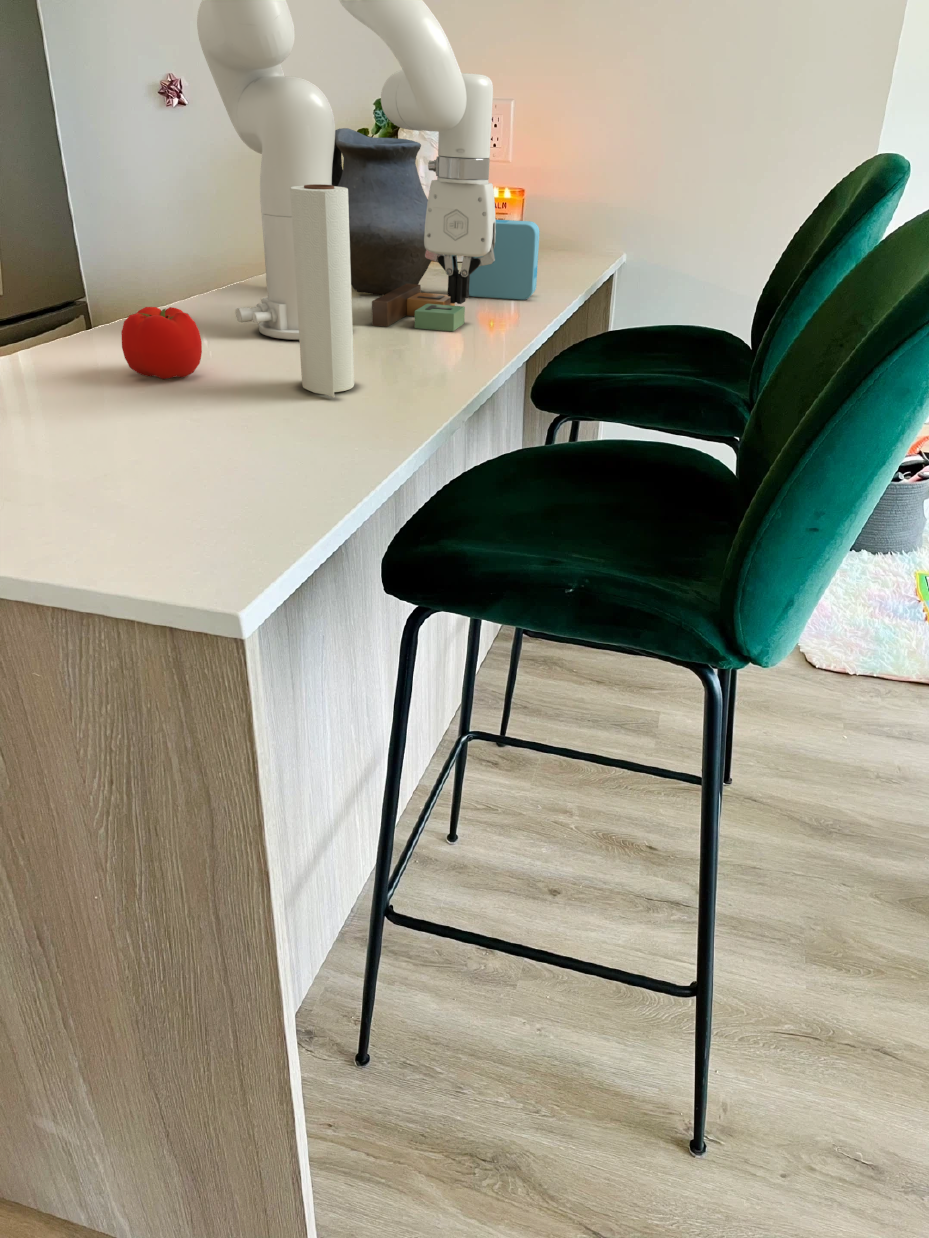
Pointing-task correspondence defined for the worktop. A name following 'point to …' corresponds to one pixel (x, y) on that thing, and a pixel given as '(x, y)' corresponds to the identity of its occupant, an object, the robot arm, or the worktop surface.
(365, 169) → the pitcher
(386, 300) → the walnut ledge
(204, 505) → the worktop surface
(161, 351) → the tomato
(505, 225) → the blue rounded slab
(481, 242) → the robot arm
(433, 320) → the sage letter tile
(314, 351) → the paper towel roll
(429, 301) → the oak letter tile
